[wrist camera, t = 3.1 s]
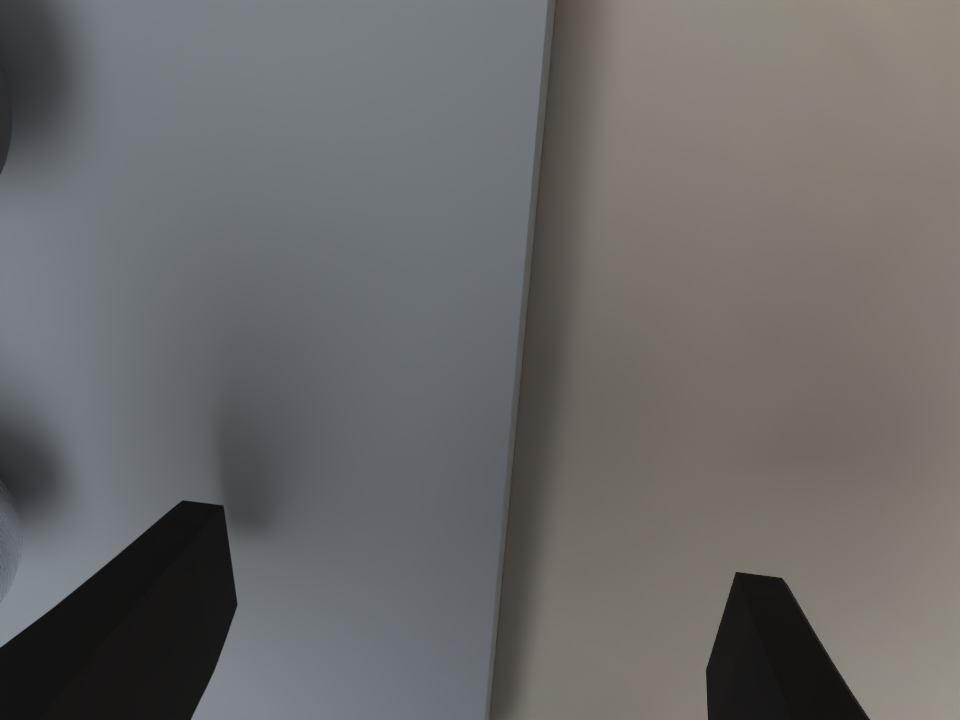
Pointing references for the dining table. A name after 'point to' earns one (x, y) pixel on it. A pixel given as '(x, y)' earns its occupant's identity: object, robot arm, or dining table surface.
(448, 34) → the board
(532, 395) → the dining table surface
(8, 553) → the steel ball
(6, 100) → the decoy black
